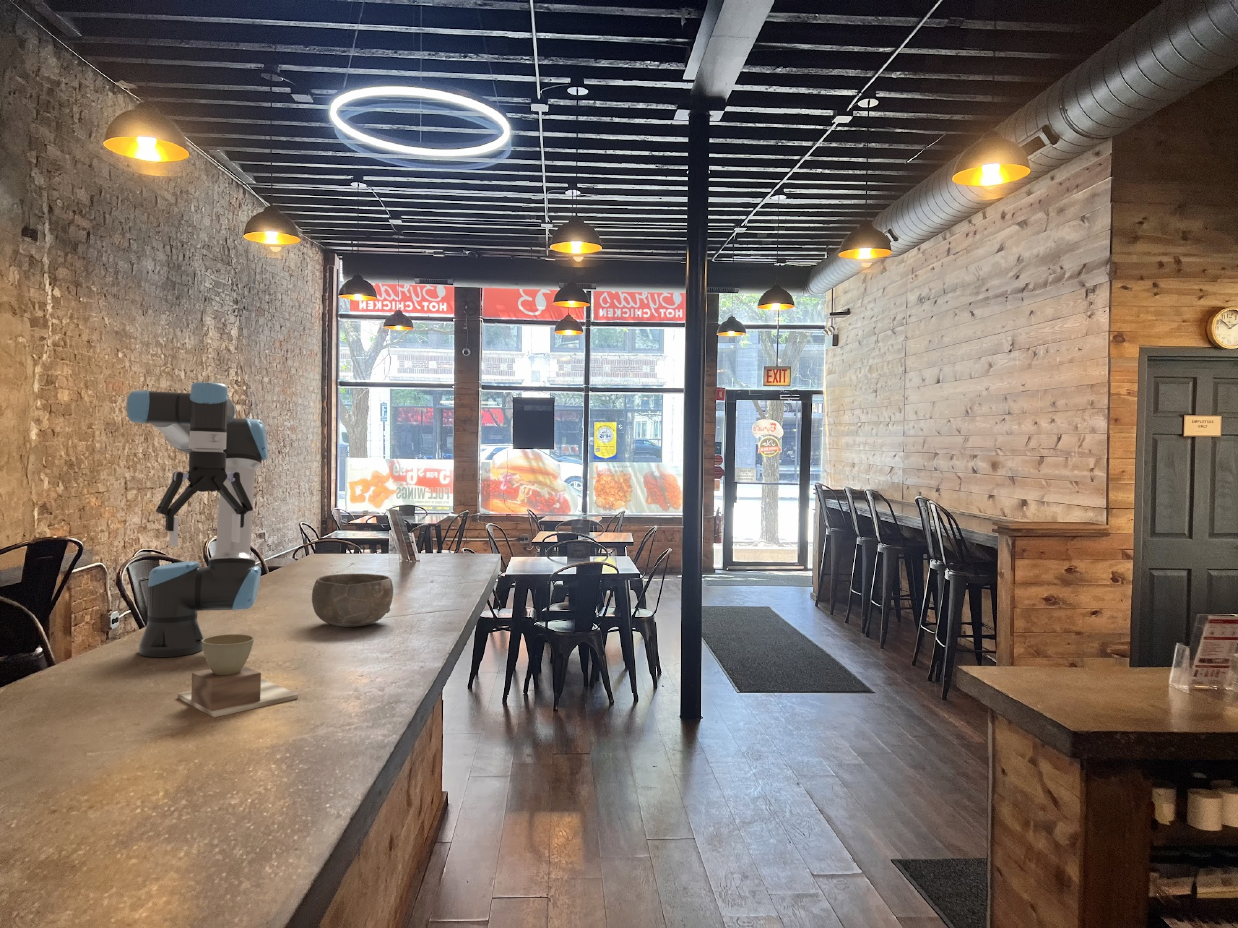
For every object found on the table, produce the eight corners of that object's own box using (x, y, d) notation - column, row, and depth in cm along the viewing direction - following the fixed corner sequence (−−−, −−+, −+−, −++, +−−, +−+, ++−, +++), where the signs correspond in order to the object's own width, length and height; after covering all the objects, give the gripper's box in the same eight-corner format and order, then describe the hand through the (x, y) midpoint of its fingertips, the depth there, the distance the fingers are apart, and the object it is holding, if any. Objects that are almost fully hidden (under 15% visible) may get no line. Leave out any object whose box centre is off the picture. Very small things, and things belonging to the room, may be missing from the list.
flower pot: (231, 680, 165) (232, 645, 165) (189, 676, 167) (190, 642, 167) (263, 668, 174) (264, 635, 174) (223, 664, 177) (223, 632, 176)
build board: (177, 697, 174) (177, 693, 174) (259, 681, 188) (259, 677, 188) (213, 717, 163) (213, 712, 163) (298, 698, 177) (298, 693, 177)
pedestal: (191, 700, 170) (192, 672, 170) (238, 690, 178) (239, 663, 177) (211, 711, 163) (212, 681, 163) (260, 700, 171) (260, 672, 171)
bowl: (409, 624, 255) (410, 577, 255) (346, 637, 234) (347, 586, 234) (358, 614, 268) (359, 569, 267) (294, 626, 247) (295, 577, 247)
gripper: (154, 449, 170) (152, 549, 171) (269, 452, 190) (267, 541, 190) (141, 448, 175) (138, 545, 176) (254, 451, 194) (252, 538, 195)
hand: (205, 543), depth 183 cm, fingers open, 13 cm apart
